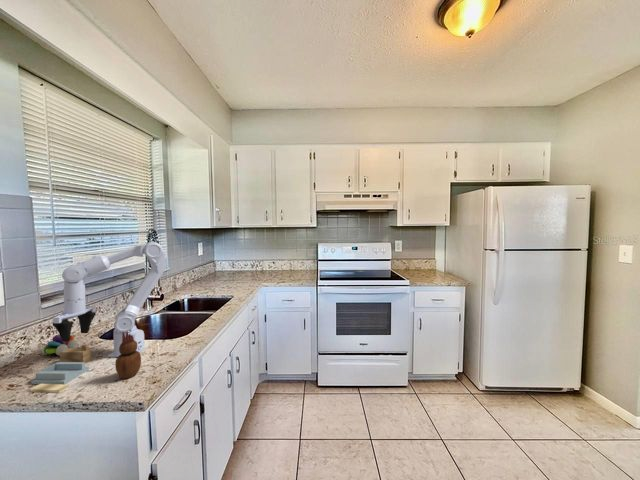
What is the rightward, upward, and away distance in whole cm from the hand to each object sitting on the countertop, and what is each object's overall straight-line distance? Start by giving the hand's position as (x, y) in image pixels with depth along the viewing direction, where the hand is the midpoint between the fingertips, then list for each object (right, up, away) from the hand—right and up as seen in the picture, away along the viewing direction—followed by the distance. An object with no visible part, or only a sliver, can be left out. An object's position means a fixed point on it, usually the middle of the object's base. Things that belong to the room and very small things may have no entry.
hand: (75, 336), depth 100 cm
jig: (+4, -10, -10) cm, 14 cm away
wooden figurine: (+25, -10, -9) cm, 28 cm away
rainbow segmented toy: (-13, -9, +8) cm, 18 cm away
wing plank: (+7, -10, -17) cm, 21 cm away
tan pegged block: (0, -9, 0) cm, 9 cm away
